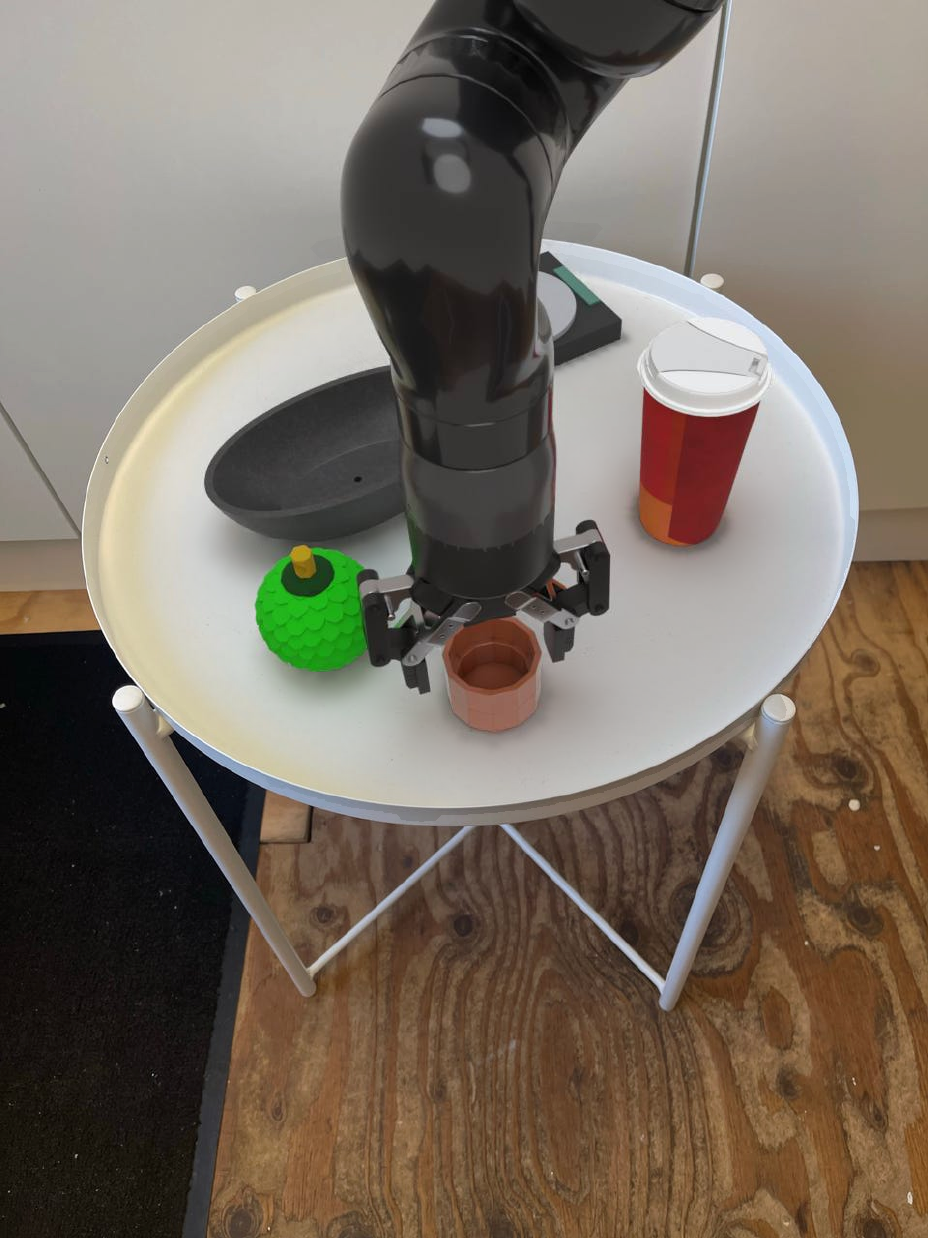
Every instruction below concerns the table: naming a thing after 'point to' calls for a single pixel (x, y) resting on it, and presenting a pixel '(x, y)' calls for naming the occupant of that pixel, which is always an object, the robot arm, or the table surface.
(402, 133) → the robot arm
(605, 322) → the scale
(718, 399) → the coffee cup
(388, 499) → the bowl
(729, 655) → the table surface
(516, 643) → the small bowl
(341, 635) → the ornament
